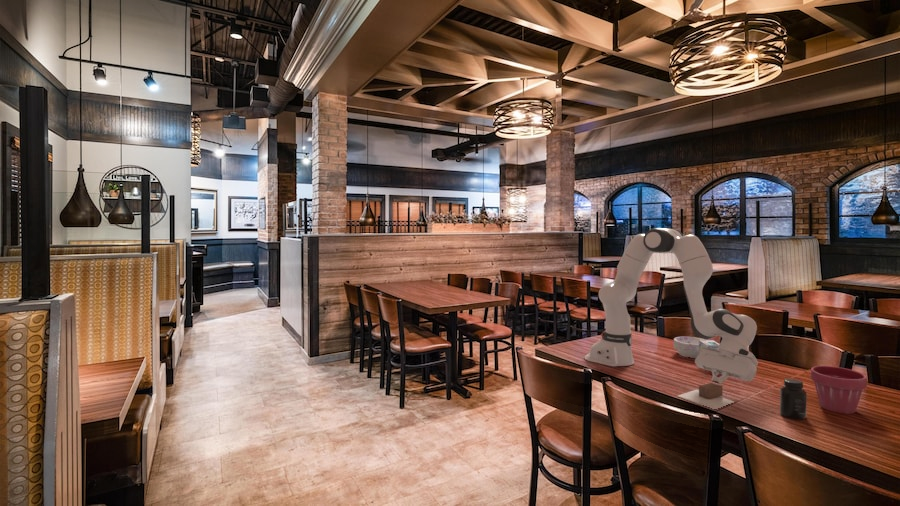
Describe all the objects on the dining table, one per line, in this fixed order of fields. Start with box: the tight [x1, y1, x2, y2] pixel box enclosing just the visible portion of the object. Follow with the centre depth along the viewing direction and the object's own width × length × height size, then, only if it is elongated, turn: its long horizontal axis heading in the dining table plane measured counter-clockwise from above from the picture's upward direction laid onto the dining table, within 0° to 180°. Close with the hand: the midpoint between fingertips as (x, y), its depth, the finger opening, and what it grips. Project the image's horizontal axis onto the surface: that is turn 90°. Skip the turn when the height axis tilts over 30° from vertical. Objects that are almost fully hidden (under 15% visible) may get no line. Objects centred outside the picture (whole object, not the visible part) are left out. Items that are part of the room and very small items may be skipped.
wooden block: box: [698, 382, 724, 399], centre depth 157 cm, size 4×4×8 cm
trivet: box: [676, 389, 735, 410], centre depth 154 cm, size 12×14×1 cm
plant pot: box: [810, 365, 868, 415], centre depth 144 cm, size 14×14×13 cm
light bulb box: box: [699, 339, 720, 354], centre depth 193 cm, size 11×7×11 cm, turn 168°
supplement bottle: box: [779, 378, 807, 421], centre depth 139 cm, size 7×7×12 cm
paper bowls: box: [673, 336, 705, 359], centre depth 208 cm, size 15×15×8 cm
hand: (715, 382), depth 157 cm, fingers closed
